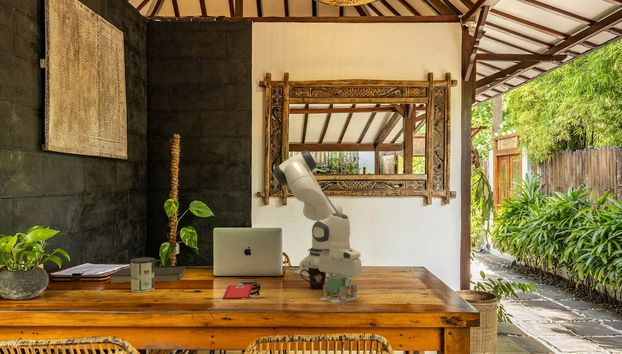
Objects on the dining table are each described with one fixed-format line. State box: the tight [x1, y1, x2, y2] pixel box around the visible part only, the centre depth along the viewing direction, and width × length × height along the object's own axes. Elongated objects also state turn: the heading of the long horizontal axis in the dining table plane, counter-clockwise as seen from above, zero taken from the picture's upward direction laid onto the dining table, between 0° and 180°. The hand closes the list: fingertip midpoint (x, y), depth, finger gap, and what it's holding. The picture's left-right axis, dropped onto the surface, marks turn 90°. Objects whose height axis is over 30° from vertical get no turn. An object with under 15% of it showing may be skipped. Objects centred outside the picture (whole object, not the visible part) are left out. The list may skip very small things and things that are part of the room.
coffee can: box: [130, 256, 155, 293], centre depth 218 cm, size 10×10×14 cm
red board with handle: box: [222, 281, 261, 300], centre depth 217 cm, size 30×3×15 cm
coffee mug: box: [299, 265, 327, 291], centre depth 222 cm, size 12×9×10 cm
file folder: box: [109, 266, 187, 284], centre depth 246 cm, size 33×4×24 cm
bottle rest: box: [320, 283, 360, 305], centre depth 202 cm, size 10×14×6 cm
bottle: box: [326, 274, 353, 294], centre depth 203 cm, size 5×14×6 cm, turn 141°
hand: (339, 284), depth 202 cm, fingers closed on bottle, 5 cm apart
